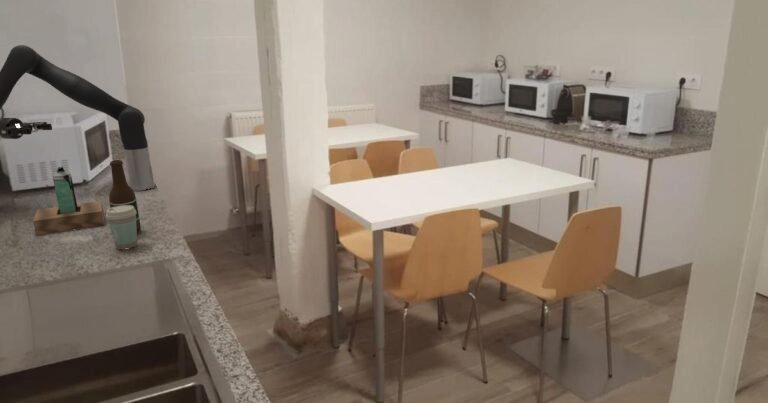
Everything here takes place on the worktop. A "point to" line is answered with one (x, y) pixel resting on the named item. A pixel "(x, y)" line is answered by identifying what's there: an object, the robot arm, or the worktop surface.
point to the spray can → (65, 191)
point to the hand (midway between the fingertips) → (40, 128)
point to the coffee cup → (123, 225)
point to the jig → (68, 218)
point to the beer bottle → (122, 190)
